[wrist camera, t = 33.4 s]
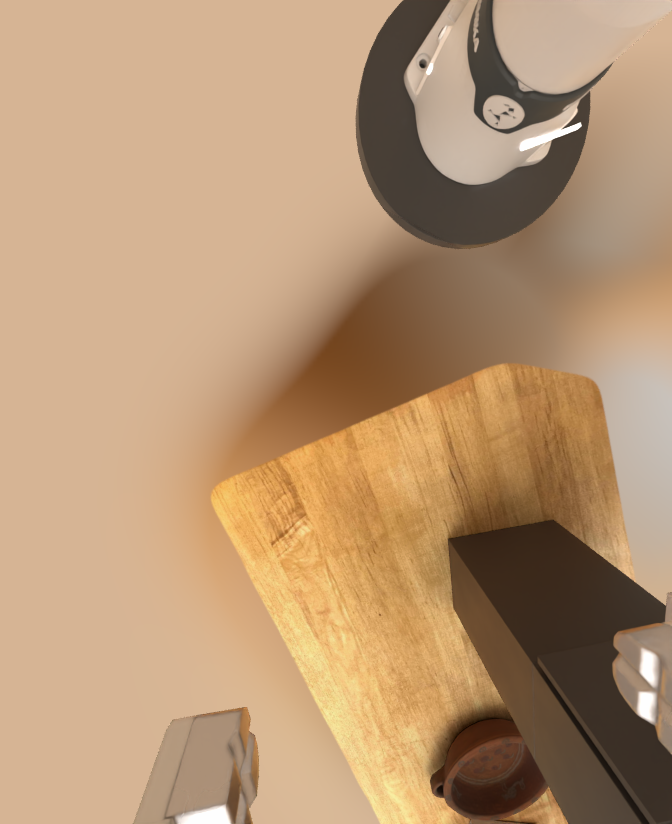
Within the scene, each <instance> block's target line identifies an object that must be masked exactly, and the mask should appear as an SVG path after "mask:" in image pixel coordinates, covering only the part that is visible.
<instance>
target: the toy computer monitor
mask: <svg viewBox="0 0 672 824" xmlns="http://www.w3.org/2000/svg"><path fill="white" fill-rule="evenodd" d="M470 824H526V823H515V822H504V821H482V820H474V819H470Z"/></svg>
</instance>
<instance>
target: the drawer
mask: <svg viewBox="0 0 672 824" xmlns="http://www.w3.org/2000/svg"><path fill="white" fill-rule="evenodd" d="M668 621H672V592H670V593H667V603H666V615H665V622H668ZM613 643H614V641H609V642H604V643H599V644H594V645H589V646H584V647H579V648H574V649H569V650H564V651H559V652H554V653H549V654H544V655H539V656H538V664H539V665H540V667H541V668H542V670H543V671H544V673H545V674H546V675H547V677H548V678H549V680H550V681H551V683H552V684H553V685H554V687H555V688H556V690H557V691H558V693H559V694H560V695H561V697H562V698H563V700H564V701H565V703H566V704H567V706H568V707H569V708H570V710H571V711H572V713H573V714H574V716H575V717H576V718H577V720H578V721H579V723H580V724H581V726H582V727H583V728H584V730H585V731H586V733H587V734H588V736H589V737H590V739H591V740H592V741H593V743H594V744H595V746H596V747H597V749H598V750H599V751H600V753H601V754H602V756H603V757H604V759H605V760H606V761H607V763H608V764H609V766H610V767H611V769H612V770H613V772H614V773H615V774H616V776H617V777H618V779H619V780H620V782H621V783H622V784H623V786H624V787H625V789H626V790H627V792H628V793H629V795H630V796H631V797H632V799H633V800H634V802H635V803H636V805H637V806H638V807H639V809H640V810H641V812H642V813H643V815H644V816H645V817H646V819H647V820H648V822H649V823H650V824H672V754H671V753H670V752H669V751H668V750H667V749H666V748H665V746H664V745H663V744H662V743H661V742H660V741H659V740H658V736H657V732H656V728H655V725H653V724H652V723H650V722H648V721H647V720H645V719H643V718H641V717H640V716H638V715H637V714H636V713H635V712H634V710H633V709H632V708H631V707H630V706H629V705H628V703H627V702H626V701H625V699H624V697H623V696H622V694H621V693H620V691H619V689H618V687H617V684H616V682H615V679H614V677H613V661H614V660H615V659H616V657H617V656H618V654H619V651H618V650H617V649H616V648H615V647H614V646H613Z"/></svg>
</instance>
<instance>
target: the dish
mask: <svg viewBox="0 0 672 824" xmlns="http://www.w3.org/2000/svg"><path fill="white" fill-rule="evenodd" d="M430 784H431V789H432V793H433V794H434V795H435V796H436V797H440V798H445V801H446V803H447V804H448V806H449V807H451V808H452V809H453V810H454V811H456V812H457V813H459V814H460V815H462V816H464V817H466V818H469V819H474V820H482V821H493V820H499V819H503V818H506V817H509V816H511V815H514V814H516V813H518V812H520V811H522V810H524V809H525V808H527V807H528V806H530V805H532V804H533V803H534V802H535V801H537V800H538V799H539V797H540V796H541V795H542V794H543V793H544V792H545V791H546V789H547V788H548V784H547V782H546V780H545V779H544V777H543V775H542V773H541V771H540V769H539V767H538V765H537V764H536V762H535V760H534V758H533V756H532V754H531V752H530V750H529V749H528V747H527V745H526V743H525V741H524V739H523V737H522V735H521V734H520V732H519V730H518V728H517V726H516V724H515V723H514V722H511V721H508V720H504V719H490V720H484V721H481V722H478V723H475V724H473V725H471V726H469V727H468V728H466V729H465V730H463V731H462V732H461V733H460V734H459V735H458V736H457V737H456V739H455V740H454V742H453V743H452V745H451V747H450V749H449V751H448V754H447V758H446V762H445V765H444V766H443V767H442V768H441V769H440V770H438V771H437V772H435V773H434V774H433V775H432V777H431V779H430Z"/></svg>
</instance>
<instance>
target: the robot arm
mask: <svg viewBox="0 0 672 824" xmlns="http://www.w3.org/2000/svg"><path fill="white" fill-rule="evenodd" d="M671 11H672V0H450V2H449V3H448V5H447V6H446V8H445V9H444V11H443V12H442V14H441V16H440V17H439V19H438V20H437V22H436V23H435V25H434V26H433V28H432V30H431V31H430V33H429V34H428V36H427V37H426V39H425V40H424V42H423V44H422V45H421V47H420V48H419V50H418V51H417V53H416V54H415V56H414V58H413V59H412V61H411V62H410V64H409V65H408V67H407V69H406V71H405V73H404V83H405V87H406V89H407V91H408V94H409V96H410V98H411V100H412V102H413V104H414V108H415V114H416V124H417V131H418V136H419V139H420V142H421V145H422V147H423V150H424V152H425V154H426V155H427V157H428V159H429V160H430V161H431V163H432V164H433V165H434V166H435V167H436V169H437V170H439V171H440V172H441V173H442V174H443V175H445V176H446V177H448V178H450V179H452V180H454V181H456V182H459V183H463V184H469V185H479V184H486V183H489V182H492V181H495V180H497V179H499V178H501V177H503V176H504V175H506V174H507V173H509V172H510V171H512V170H513V169H515V168H517V167H522V166H529V165H533V164H536V163H538V162H540V161H541V160H542V159H543V158H544V157H545V156H546V155H547V153H548V151H549V148H550V145H551V142H552V139H554V138H556V137H559V136H561V135H564V134H566V133H569V132H572V131H574V130H577V129H578V128H579V127H581V123H579V124H577V125H574V126H572V127H569V128H566V129H564V130H561V129H562V128H563V127H564V126H566V125H567V124H568V123H569V122H570V121H571V120H572V119H573V118H574V116H575V115H576V113H577V111H578V109H577V106H578V104H579V101H580V99H582V98H583V97H584V96H585V95H586V94H587V93H588V92H589V91H590V90H591V89H592V87H593V86H595V85H596V83H597V82H598V81H599V80H600V79H601V78H602V77H603V76H604V75H605V74H606V72H607V71H608V70H609V68H610V67H611V65H612V64H613V62H614V61H615V60H616V59H617V58H618V57H619V56H621V55H622V54H623V53H624V52H625V51H626V50H628V49H629V48H630V47H631V46H632V45H633V44H634V43H636V42H637V41H638V40H639V39H640V38H641V37H642V36H644V35H645V34H646V33H647V32H648V31H649V30H650V29H652V28H653V27H654V26H655V25H656V24H657V23H658V22H659V21H660V20H662V19H663V18H664V17H665V16H666V15H667V14H668V13H670V12H671ZM419 64H423V65H424V67H425V68H421V67H420V66H419ZM560 130H561V131H560ZM613 646H614V647H615V648H616V649H617V650H618V651H619V654H618V656H617V657H616V659H615V660H614V661H613V677H614V679H615V682H616V684H617V687H618V689H619V691H620V693H621V694H622V696H623V697H624V699H625V701H626V702H627V703H628V705H629V706H630V707H631V708H632V709H633V710H634V712H635V713H636V714H637V715H638V716H640V717H641V718H643V719H645V720H647V721H648V722H650V723H652V724H653V725H655V728H656V732H657V736H658V740H659V741H660V742H661V743H662V744H663V745H664V746H665V748H666V749H667V750H668V751H669V752H670V753H671V754H672V621H668V622H663V623H655V624H650V625H646V626H641V627H637V628H632V629H627V630H623V631H618V632H617V633H616V635H615V636H614V643H613ZM250 720H251V719H250V715H249V712H248V709H247V707H243V708H237V709H232V710H225V711H219V712H214V713H207V714H201V715H196V716H190V717H186V718H180V719H174V720H172V722H171V723H170V725H169V726H168V728H167V730H166V732H165V735H164V738H163V741H162V744H161V746H160V749H159V752H158V755H157V758H156V760H155V763H154V766H153V769H152V772H151V775H150V777H149V780H148V783H147V786H146V789H145V792H144V795H143V797H142V800H141V803H140V806H139V809H138V812H137V814H136V817H135V820H134V823H133V824H253V822H252V818H251V815H250V811H249V808H250V807H251V805H252V803H253V801H254V800H255V798H256V796H257V788H258V778H259V756H258V747H257V742H256V738H255V735H254V734H252V733H251V732H250V731H249V727H250Z"/></svg>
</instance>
